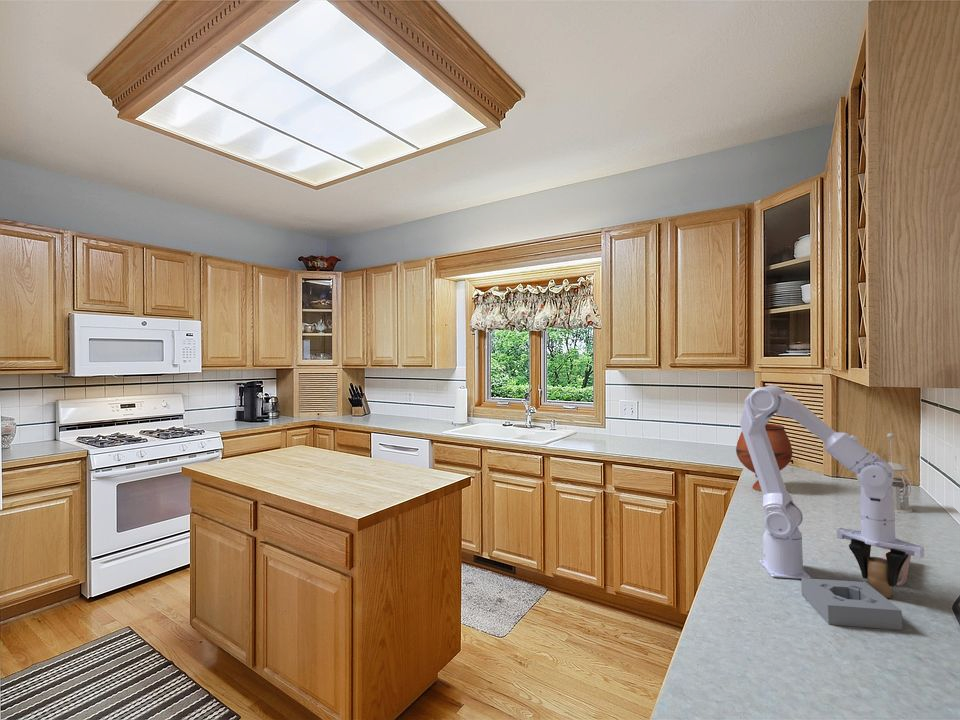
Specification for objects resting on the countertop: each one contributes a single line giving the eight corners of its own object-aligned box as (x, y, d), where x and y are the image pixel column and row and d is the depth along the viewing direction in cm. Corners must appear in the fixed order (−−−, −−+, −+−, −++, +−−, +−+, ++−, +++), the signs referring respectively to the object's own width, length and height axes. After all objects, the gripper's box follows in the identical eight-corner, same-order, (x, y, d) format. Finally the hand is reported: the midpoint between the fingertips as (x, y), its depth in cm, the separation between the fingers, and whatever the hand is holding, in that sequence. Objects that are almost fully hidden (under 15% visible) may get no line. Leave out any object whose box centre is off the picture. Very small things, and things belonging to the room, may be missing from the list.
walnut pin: (864, 588, 106) (862, 556, 106) (885, 590, 105) (884, 557, 105) (874, 597, 102) (873, 563, 102) (896, 598, 101) (895, 564, 101)
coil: (884, 541, 122) (877, 563, 109) (909, 543, 119) (904, 567, 106) (887, 560, 122) (880, 585, 109) (912, 563, 119) (908, 589, 106)
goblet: (743, 494, 184) (741, 427, 184) (732, 482, 202) (730, 421, 202) (801, 496, 178) (799, 428, 178) (785, 484, 196) (783, 422, 197)
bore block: (801, 594, 104) (801, 578, 104) (866, 599, 102) (865, 582, 102) (828, 624, 93) (827, 605, 93) (902, 630, 90) (901, 610, 90)
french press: (898, 504, 166) (895, 431, 166) (925, 515, 154) (922, 435, 155) (867, 504, 167) (864, 431, 167) (892, 514, 155) (889, 436, 156)
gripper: (829, 512, 108) (831, 573, 108) (914, 529, 96) (916, 599, 95) (843, 506, 112) (846, 566, 111) (926, 522, 99) (929, 590, 99)
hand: (879, 581), depth 104 cm, fingers closed on walnut pin, 4 cm apart
